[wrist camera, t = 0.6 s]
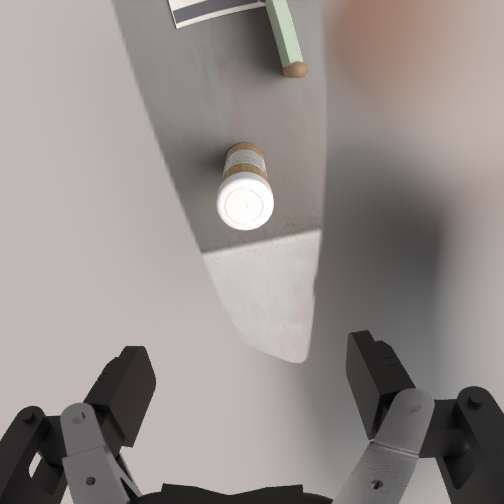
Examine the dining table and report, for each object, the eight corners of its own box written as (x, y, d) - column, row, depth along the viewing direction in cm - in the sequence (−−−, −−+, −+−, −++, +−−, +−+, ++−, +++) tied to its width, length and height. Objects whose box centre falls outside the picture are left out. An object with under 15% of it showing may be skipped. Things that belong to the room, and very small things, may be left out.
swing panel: (262, 4, 24) (267, -11, 19) (277, 1, 24) (284, -14, 19) (283, 78, 29) (292, 79, 24) (297, 76, 29) (309, 76, 24)
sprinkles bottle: (253, 183, 37) (257, 240, 25) (219, 168, 35) (206, 219, 24) (270, 151, 34) (284, 194, 23) (235, 135, 33) (230, 169, 22)
